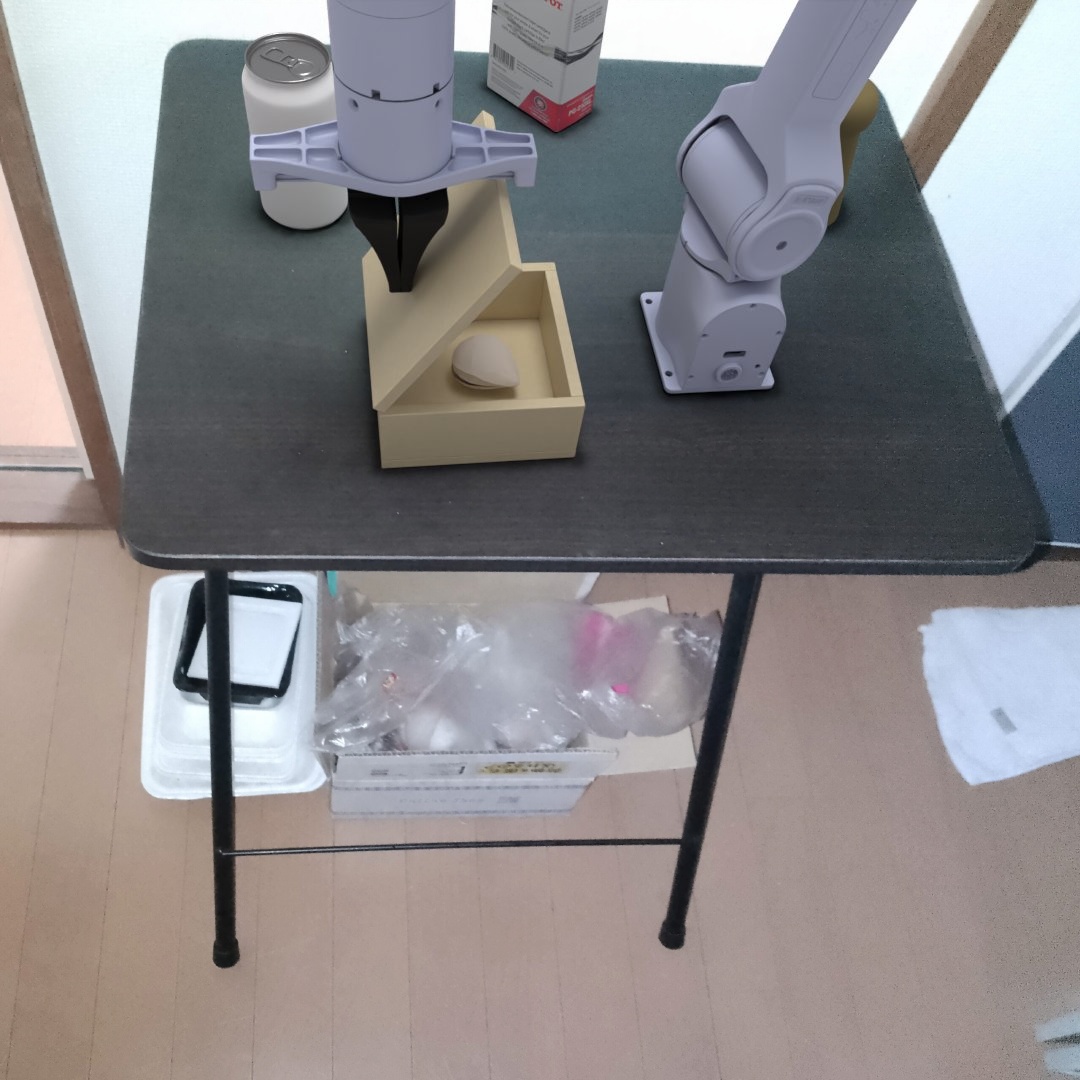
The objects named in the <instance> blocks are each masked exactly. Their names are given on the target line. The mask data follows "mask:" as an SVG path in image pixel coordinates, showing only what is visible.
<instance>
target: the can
mask: <svg viewBox="0 0 1080 1080" xmlns="http://www.w3.org/2000/svg"><path fill="white" fill-rule="evenodd" d="M243 60H244V66H243V69H242V72H241V86H242V94H243V100H244V106H245V112H246V119H247V125H248V131H249V136H250V135H259V134H272V133H280V132H285V131H290V130H294V129H299V128H303V127H307V126H312V125H316V124H320V123H325V122H329V121H333V120H337V114H336V102H335V90H334V78H333V67H332V58H331V51H330V50H329V48H328V47H327V46H326V45H325V44H324V43H323V42H322V41H321V40H318V39H317V38H315V37H313V36H310V35H308V34H305V33H300V32H293V31H280V32H273V33H269V34H265V35H262V36H260V37H258V38H256V39H254V40H252V42H251V43H249V44H248V46H247V47H246V49H245V50H244V54H243ZM276 183H277V187H276V189H274V190H272V191H259V195H260V201H261V205H262V208H263V210H264V212H265V213H266V214H267V215H268V217H270V218H271V219H272V220H274V221H275V222H276V223H278V224H280V225H282V226H283V227H287V228H289V229H294V230H299V231H309V230H311V231H312V230H317V229H321V228H325V227H328V226H329V225H331V224H333V223H334V222H335V221H337V220H338V219H339V218H340V217H341V216H342V215H343V214H344V212H345V211H346V209H347V207H348V192H347V188H345V187H341V186H336V185H332V184H327V183H323V182H276Z"/></svg>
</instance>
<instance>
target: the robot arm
mask: <svg viewBox="0 0 1080 1080" xmlns="http://www.w3.org/2000/svg"><path fill="white" fill-rule="evenodd" d="M917 1H918V0H797V3H796V5H795V7H794V8H793V10H792V12H791V14H790V16H789V18H788V20H787V21H786V23H785V25H784V27H783V29H782V31H781V33H780V35H779V37H778V39H777V41H776V43H775V45H774V46H773V49H771V52H770V54H769V56H768V58H767V60H766V61H765V64H764V66H763V67H762V69H761V72H760V73H759V75H758V77H757V79H756V80H754V81H748V82H740V83H737V84H736V83H735V84H732V85H728V86H725V87H724V88H722V89H721V92H720V94H719V96H718V98H717V100H716V101H715V104H714V105H713V107H712V108H711V110H710V111H709V112H708V114H706V116H705V117H704V118H703V119H702V120H701V121H700V122H699V123H698V124H697V125H696V126H695V127H694V128H693V129H692V130H691V131H690V132H689V133H688V135H686V137H685V139H684V140H683V141H682V143H681V145H680V147H679V150H678V151H677V152H678V153H677V155H676V159H675V174H676V176H677V180H678V181H679V183H680V185H682V187H683V188H684V190H685V191H686V193H685V196H684V199H683V204H682V208H683V209H682V210H683V211H684V213H683V216H682V221H681V224H680V227H679V231H678V235H677V239H676V241H675V246H674V249H673V253H672V255H671V261H670V264H669V267H668V270H667V274H666V279H665V281H664V286H663V289H662V291H645V292H642V293H641V294H640V298H639V302H640V305H641V309H642V314H643V316H644V320H645V324H646V328H647V331H648V334H649V338H650V342H651V346H652V350H653V353H654V356H655V360H656V364H657V368H658V371H659V375H660V379H661V382H662V386H663V389H664V391H665V392H666V393H668V394H688V393H689V394H690V393H691V394H692V393H708V392H709V393H710V392H711V393H713V392H731V391H732V392H733V391H751V390H770V389H772V388H773V386H774V384H775V379H774V376H773V373H772V371H771V368H770V366H771V364H772V362H773V360H774V358H775V355H776V353H777V350H778V348H779V346H780V343H781V342H782V338H783V337H784V335H785V332H786V328H787V316H786V312H785V308H784V304H783V300H782V292H781V291H782V290H781V285H782V276H783V277H784V276H785V275H787V274H789V273H791V272H793V271H794V270H796V269H797V268H798V267H800V266H801V265H803V264H804V263H805V262H806V261H807V260H808V259H809V258H810V257H811V256H812V255H813V253H814V252H815V251H816V249H817V247H818V246H819V245H820V244H821V241H822V240H823V238H824V236H825V234H826V230H827V228H828V227H827V221H828V215H829V212H830V210H831V207H832V205H833V204H834V202H835V200H836V198H837V197H838V195H839V194H840V192H841V191H842V189H843V185H844V177H843V165H842V154H841V143H840V124H841V123H842V121H843V119H844V118H845V116H846V115H847V113H848V111H849V110H850V108H851V106H852V105H853V103H854V102H855V100H856V98H857V97H858V95H859V94H860V92H861V90H862V89H863V87H864V85H865V84H866V82H867V81H868V79H870V78H871V76H872V74H873V72H874V71H875V69H876V67H877V66H878V64H879V63H880V61H881V60H882V58H883V56H884V55H885V53H886V51H888V48H889V47H890V45H891V43H892V42H893V40H894V39H895V37H896V36H897V34H898V32H899V30H900V29H901V27H902V26H903V24H904V22H905V21H906V19H907V18H908V16H909V14H910V13H911V11H912V9H913V8H914V6H915V5H916V3H917ZM326 10H327V20H328V22H327V23H328V32H329V45H330V55H331V62H332V67H333V78H334V90H335V102H336V114H337V120H333V121H329V122H325V123H320V124H316V125H312V126H307V127H303V128H299V129H294V130H290V131H285V132H280V133H272V134H259V135H250V134H249V165H250V170H251V175H252V182H253V187H254V190H255V191H256V192H258V191H259V192H260V191H272V190H274V189H276V187H277V183H276V182H323V183H327V184H332V185H336V186H341V187H345V188H347V192H348V204H347V207H348V213H349V216H350V218H351V220H352V223H353V224H354V226H355V228H356V229H358V231H359V232H360V233H361V234H362V235H363V236H364V238H365V239H366V240H367V242H368V243H369V244H370V246H371V247H372V248H373V249H374V251H375V253H376V254H377V256H378V258H379V260H380V262H381V264H382V267H383V269H384V272H385V274H386V278H387V281H388V285H389V292H391V293H403V292H411V291H412V284H413V280H414V276H415V273H416V270H417V267H418V264H419V262H420V260H421V257H422V255H423V253H424V251H425V249H426V248H427V246H428V244H429V243H430V241H431V240H432V238H433V237H434V236H435V234H436V233H437V232H438V231H439V230H440V229H441V227H442V226H443V225H444V224H445V222H446V219H447V216H448V211H449V200H448V193H447V187H450V186H454V185H458V184H462V183H465V182H469V181H473V180H493V179H505V180H512V182H513V185H514V186H515V187H517V188H534V187H535V185H536V184H535V183H536V175H537V166H538V159H539V158H538V157H539V156H538V153H537V147H536V143H535V139H534V134H533V133H531V132H512V131H504V130H499V129H496V130H494V129H490V128H485V127H481V126H476V125H471V124H472V123H471V124H470V123H467V122H462V121H458V120H453V111H454V109H453V107H454V77H455V76H454V75H455V74H454V73H455V70H454V68H455V30H456V0H326ZM396 198H397V203H396ZM397 207H398V209H397ZM397 211H398V212H397ZM397 213H398V214H399V222H398V221H397V215H398V214H397ZM397 228H398V237H397Z"/></svg>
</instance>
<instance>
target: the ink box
mask: <svg viewBox="0 0 1080 1080" xmlns="http://www.w3.org/2000/svg"><path fill="white" fill-rule="evenodd" d="M608 4H609V0H491V14H490V15H491V17H490V31H489V45H488V62H487V76H486V77H487V80H486V86H487V87H488V88H489V89H490V90H492V91H493V92H495V93H496V94H498V96H501V97H502V98H504V99H506V100H507V101H508V102H510V103H511V104H513V105H514V106H516V107H517V108H519V109H520V110H522V111H523V112H525V113H527V114H528V115H530V117H532V118H534V119H535V120H537V121H539V123H541V124H543V125H544V126H545V127H547V128H548V129H550V130H551V131H553V132H555V133H556V132H557V133H560V131H562V130H564V129H566V128H567V127H569V126H571V125H573V124H574V123H576V122H578V121H579V120H580V119H583V118H584V117H585V116H587V115H588V114H590V113H592V112H593V105H594V99H595V92H596V86H597V78H598V72H599V65H600V58H601V53H602V45H603V39H604V32H605V26H606V19H607V11H608Z"/></svg>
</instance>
